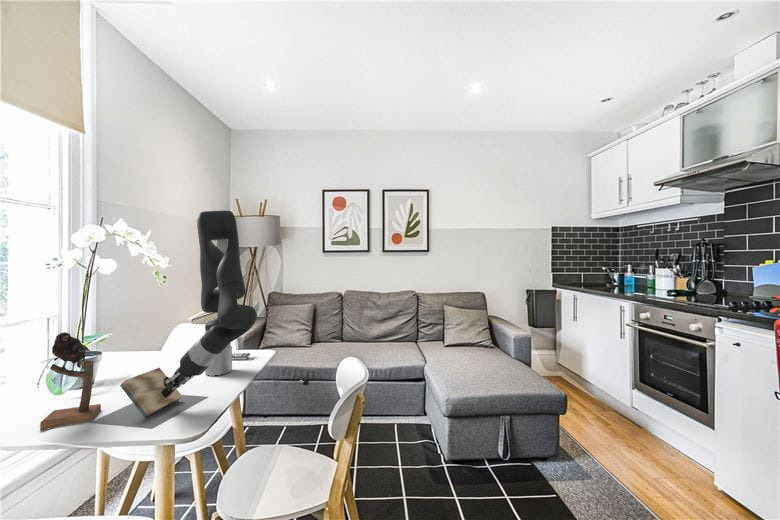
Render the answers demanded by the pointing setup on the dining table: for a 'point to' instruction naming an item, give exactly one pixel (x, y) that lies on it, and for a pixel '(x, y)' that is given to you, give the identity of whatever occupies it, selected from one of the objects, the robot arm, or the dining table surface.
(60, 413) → the bird figurine
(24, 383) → the dining table surface
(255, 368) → the dining table surface
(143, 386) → the board
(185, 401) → the mat
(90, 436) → the dining table surface
